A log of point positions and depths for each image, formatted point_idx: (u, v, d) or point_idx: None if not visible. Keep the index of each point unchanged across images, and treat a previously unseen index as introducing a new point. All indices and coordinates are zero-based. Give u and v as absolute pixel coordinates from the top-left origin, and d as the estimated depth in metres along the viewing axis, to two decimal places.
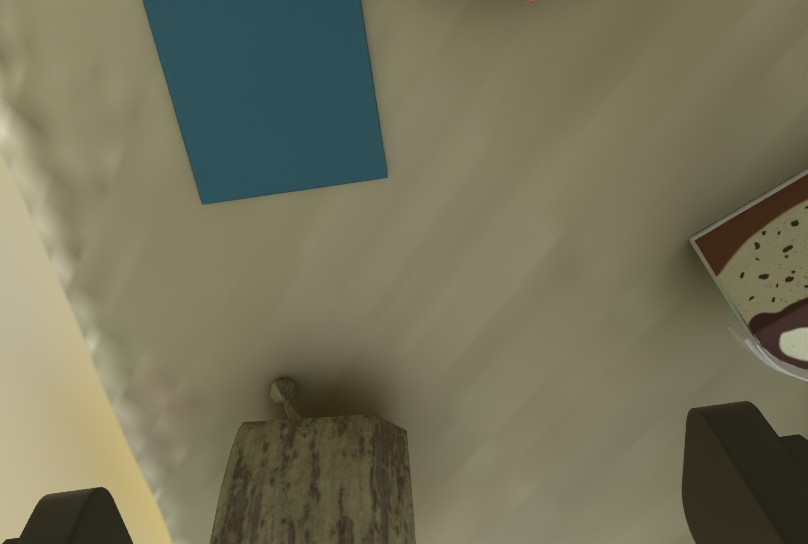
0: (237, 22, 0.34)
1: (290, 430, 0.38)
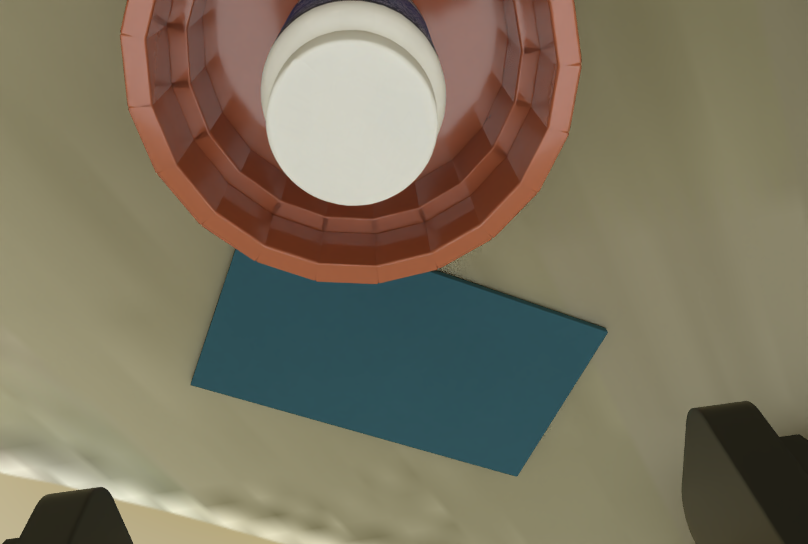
0: (394, 374, 0.36)
1: None
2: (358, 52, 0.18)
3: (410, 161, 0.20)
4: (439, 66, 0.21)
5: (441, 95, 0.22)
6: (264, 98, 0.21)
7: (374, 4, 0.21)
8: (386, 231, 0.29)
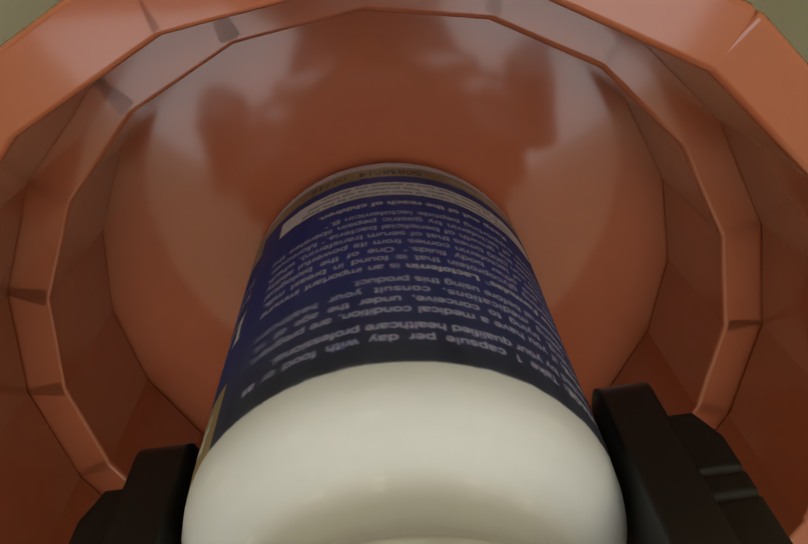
0: None
1: None
2: None
3: None
4: (620, 498, 0.09)
5: None
6: None
7: (468, 374, 0.08)
8: None
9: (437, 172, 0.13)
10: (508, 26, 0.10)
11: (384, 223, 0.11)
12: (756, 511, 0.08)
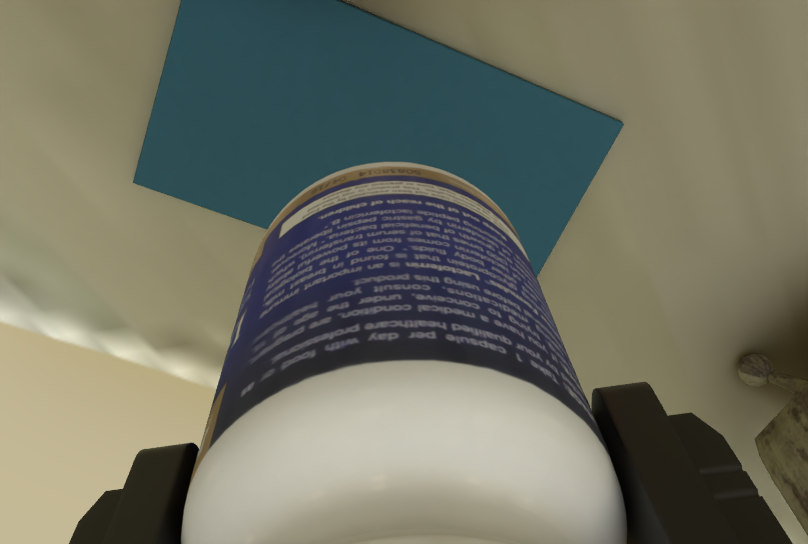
0: None
1: None
2: None
3: None
4: (621, 496, 0.09)
5: None
6: None
7: (468, 372, 0.08)
8: None
9: (437, 172, 0.13)
10: None
11: (384, 221, 0.11)
12: (756, 511, 0.08)
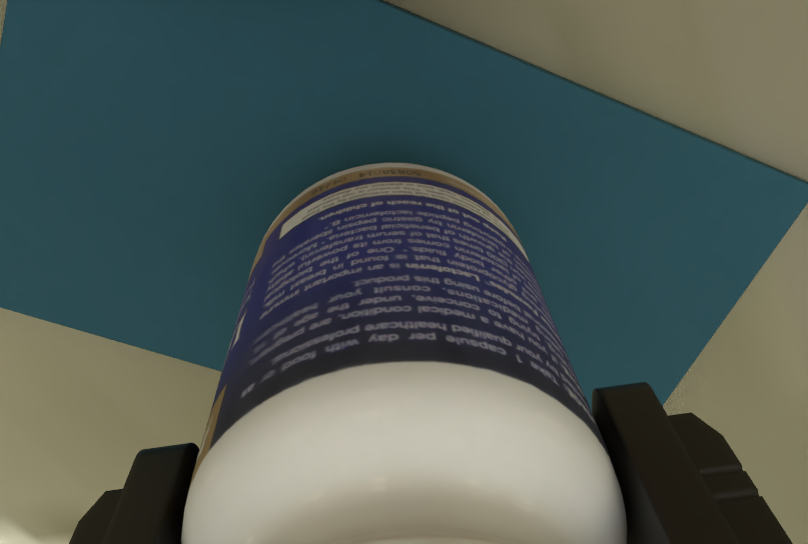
0: None
1: None
2: None
3: None
4: (620, 498, 0.09)
5: None
6: None
7: (468, 374, 0.08)
8: None
9: (437, 173, 0.13)
10: None
11: (384, 223, 0.11)
12: (756, 511, 0.08)
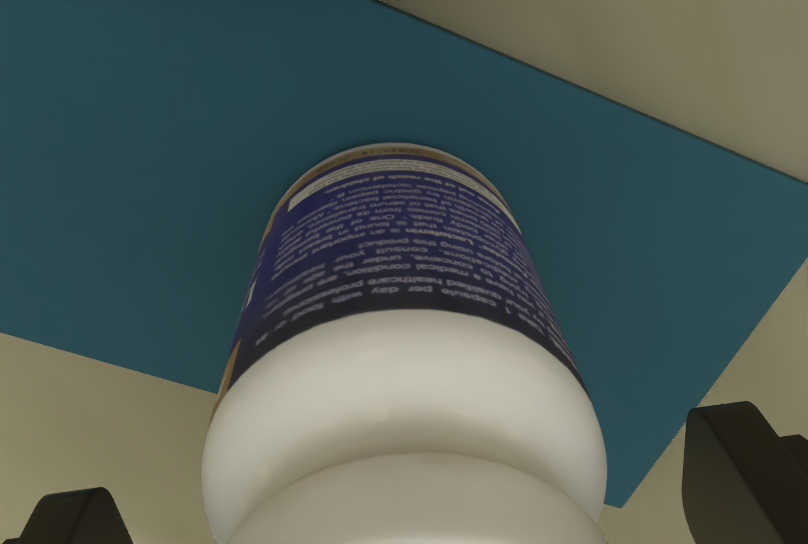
0: None
1: None
2: None
3: None
4: (601, 436, 0.10)
5: (602, 495, 0.10)
6: (207, 508, 0.10)
7: (461, 320, 0.09)
8: None
9: (435, 152, 0.14)
10: None
11: (384, 194, 0.12)
12: None
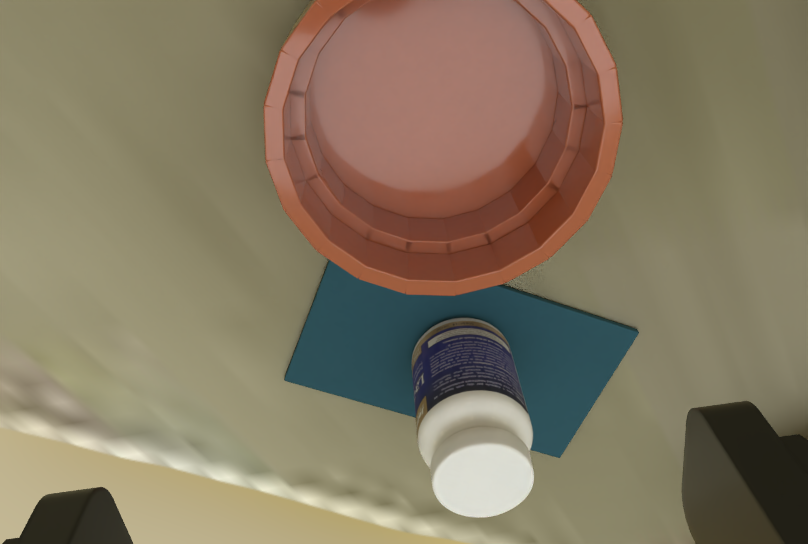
0: None
1: None
2: (490, 449, 0.32)
3: (516, 496, 0.33)
4: (530, 423, 0.35)
5: (530, 439, 0.35)
6: (422, 444, 0.35)
7: (491, 393, 0.34)
8: (458, 251, 0.35)
9: (478, 322, 0.40)
10: None
11: (464, 346, 0.37)
12: None
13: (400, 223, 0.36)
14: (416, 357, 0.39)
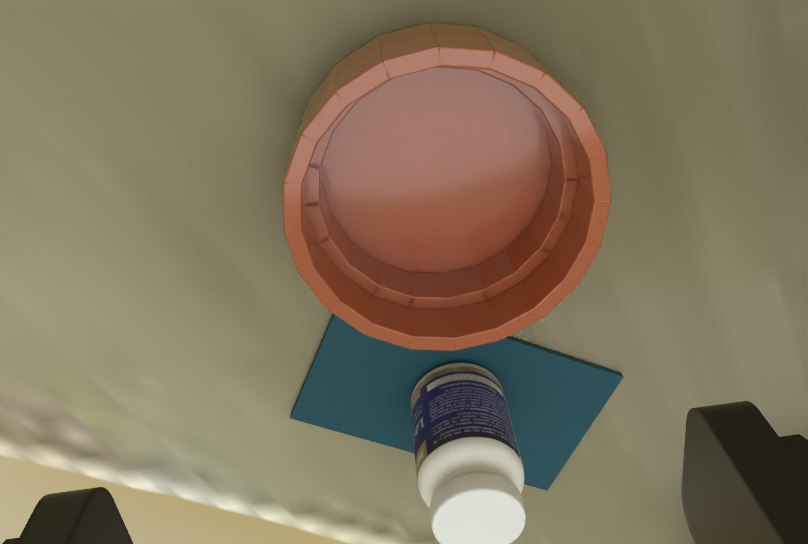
0: None
1: None
2: (485, 494, 0.35)
3: (509, 536, 0.36)
4: (521, 467, 0.38)
5: (522, 482, 0.38)
6: (421, 485, 0.38)
7: (486, 439, 0.37)
8: (457, 307, 0.38)
9: (474, 367, 0.42)
10: (482, 72, 0.32)
11: (461, 392, 0.40)
12: None
13: (403, 278, 0.39)
14: (415, 399, 0.42)
